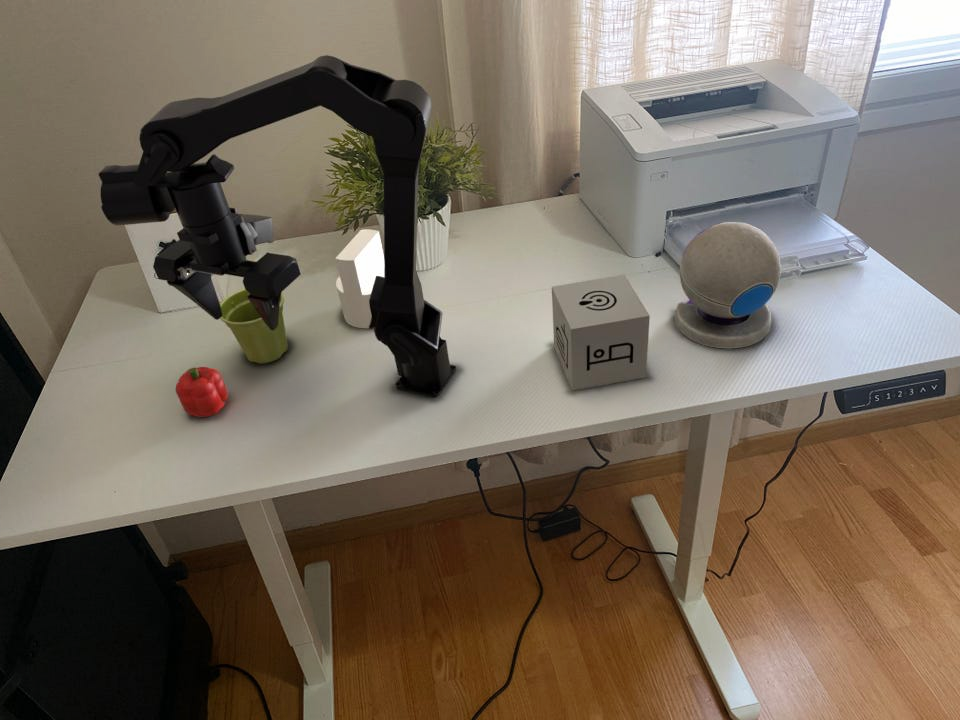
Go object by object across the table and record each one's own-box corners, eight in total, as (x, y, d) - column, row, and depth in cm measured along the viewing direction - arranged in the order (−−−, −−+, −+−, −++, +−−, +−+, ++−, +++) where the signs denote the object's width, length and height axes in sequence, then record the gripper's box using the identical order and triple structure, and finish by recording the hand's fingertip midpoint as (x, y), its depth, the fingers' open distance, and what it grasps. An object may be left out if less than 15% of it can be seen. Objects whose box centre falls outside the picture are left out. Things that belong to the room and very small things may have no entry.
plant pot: (240, 379, 105) (222, 330, 99) (230, 345, 112) (212, 297, 106) (304, 358, 107) (289, 310, 102) (291, 326, 114) (276, 279, 109)
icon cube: (572, 390, 96) (570, 329, 90) (554, 345, 104) (551, 286, 98) (645, 377, 97) (649, 315, 91) (622, 333, 105) (624, 274, 99)
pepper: (237, 409, 100) (222, 371, 96) (194, 429, 97) (176, 391, 93) (222, 387, 104) (207, 350, 100) (181, 406, 101) (163, 368, 97)
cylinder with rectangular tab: (386, 331, 111) (372, 263, 103) (334, 324, 113) (316, 257, 106) (409, 298, 117) (397, 231, 110) (359, 292, 120) (344, 227, 113)
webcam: (736, 288, 111) (750, 197, 102) (790, 334, 101) (810, 238, 92) (659, 309, 109) (666, 218, 99) (706, 359, 99) (718, 263, 90)
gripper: (309, 192, 88) (338, 299, 98) (191, 179, 96) (230, 281, 105) (252, 237, 81) (290, 349, 90) (128, 220, 88) (176, 325, 98)
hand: (246, 323), depth 96 cm, fingers open, 9 cm apart
